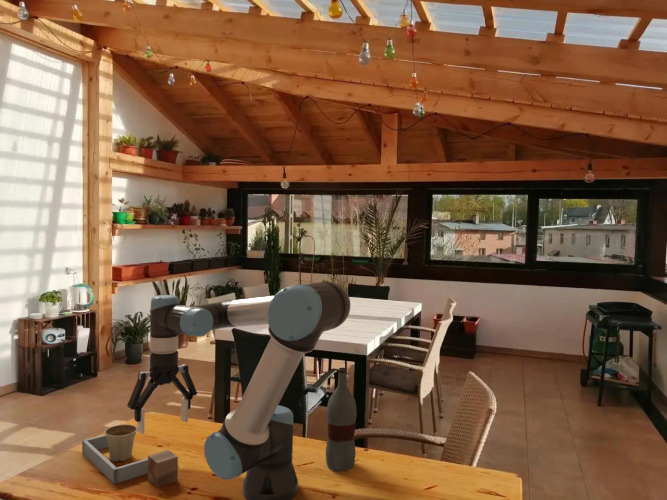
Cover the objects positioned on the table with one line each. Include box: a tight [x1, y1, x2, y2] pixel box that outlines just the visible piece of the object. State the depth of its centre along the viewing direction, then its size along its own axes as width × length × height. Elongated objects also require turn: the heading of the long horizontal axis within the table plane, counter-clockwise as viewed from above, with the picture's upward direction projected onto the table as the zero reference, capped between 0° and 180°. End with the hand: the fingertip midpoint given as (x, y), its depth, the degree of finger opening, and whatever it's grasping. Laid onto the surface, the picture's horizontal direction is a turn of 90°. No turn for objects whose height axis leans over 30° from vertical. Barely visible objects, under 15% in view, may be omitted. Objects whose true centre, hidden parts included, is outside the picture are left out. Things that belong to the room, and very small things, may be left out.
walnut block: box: [147, 449, 179, 488], centre depth 145 cm, size 6×6×7 cm
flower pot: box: [104, 424, 138, 462], centre depth 158 cm, size 9×9×9 cm
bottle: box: [325, 367, 358, 473], centre depth 156 cm, size 9×9×30 cm
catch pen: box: [81, 434, 148, 485], centre depth 156 cm, size 26×14×4 cm, turn 44°
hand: (163, 426), depth 145 cm, fingers open, 12 cm apart
